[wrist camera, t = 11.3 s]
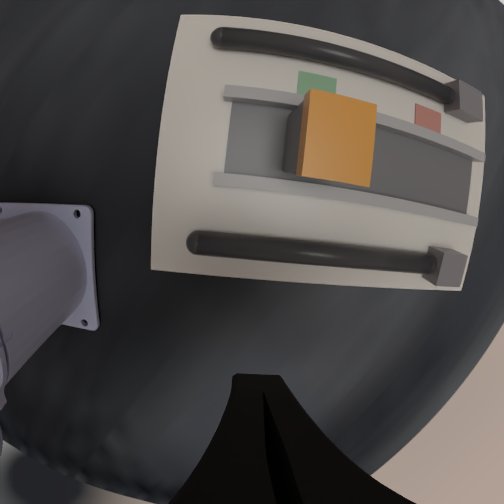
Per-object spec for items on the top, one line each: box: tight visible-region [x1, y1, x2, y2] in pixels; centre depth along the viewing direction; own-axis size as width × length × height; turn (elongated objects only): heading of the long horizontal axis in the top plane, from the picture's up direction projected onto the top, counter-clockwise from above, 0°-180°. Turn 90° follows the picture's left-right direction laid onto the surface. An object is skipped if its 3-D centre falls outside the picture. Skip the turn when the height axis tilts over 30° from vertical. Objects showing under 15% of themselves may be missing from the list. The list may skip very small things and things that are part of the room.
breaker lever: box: [282, 89, 377, 187], centre depth 12 cm, size 3×3×4 cm
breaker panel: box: [151, 15, 486, 291], centre depth 14 cm, size 20×14×3 cm
